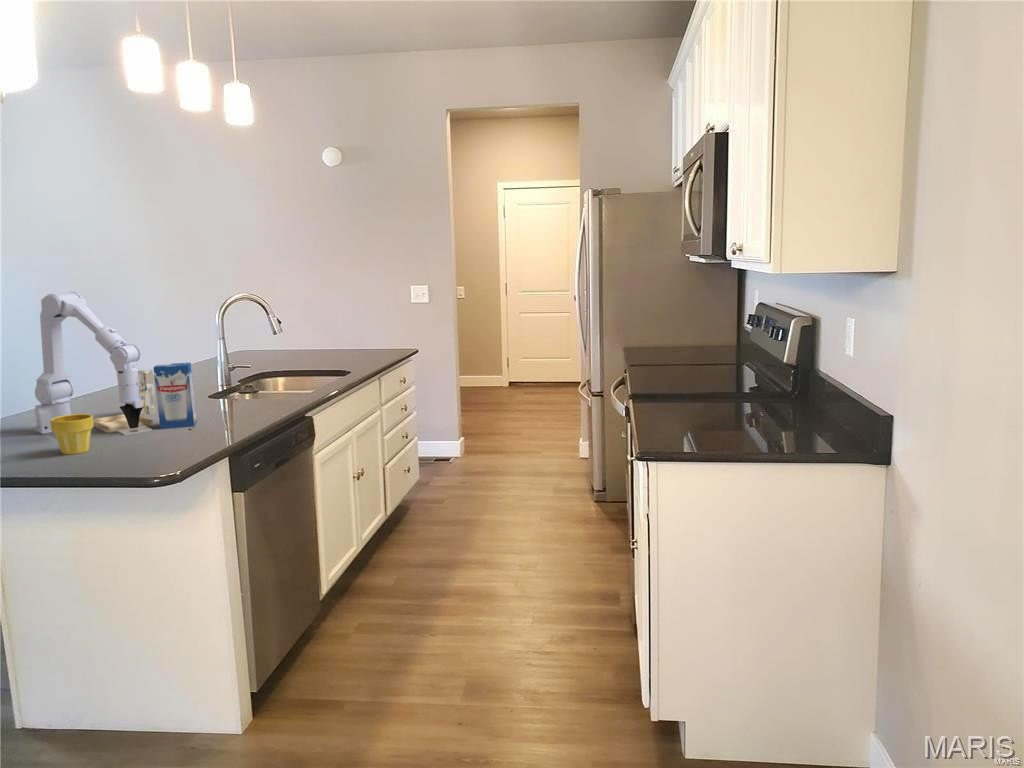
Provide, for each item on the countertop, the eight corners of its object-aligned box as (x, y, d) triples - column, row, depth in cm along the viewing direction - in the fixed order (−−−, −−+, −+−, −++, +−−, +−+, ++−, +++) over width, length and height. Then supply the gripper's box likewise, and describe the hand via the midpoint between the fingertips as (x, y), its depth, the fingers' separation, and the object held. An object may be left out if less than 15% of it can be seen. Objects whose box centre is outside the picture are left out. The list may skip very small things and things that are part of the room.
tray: (107, 434, 230) (106, 427, 230) (90, 426, 242) (89, 419, 241) (153, 426, 239) (152, 419, 239) (135, 419, 251) (134, 412, 251)
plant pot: (104, 445, 216) (99, 412, 215) (85, 455, 206) (80, 421, 205) (67, 447, 216) (62, 413, 214) (46, 457, 206) (41, 422, 204)
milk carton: (160, 431, 233) (153, 367, 229) (163, 426, 239) (156, 364, 235) (194, 428, 236) (188, 365, 232) (197, 423, 242) (190, 362, 238)
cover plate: (124, 438, 227) (124, 433, 226) (117, 434, 232) (116, 430, 231) (152, 433, 232) (151, 429, 232) (144, 430, 237) (144, 425, 237)
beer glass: (134, 417, 253) (129, 373, 251) (136, 413, 260) (131, 370, 257) (157, 415, 256) (152, 371, 253) (158, 411, 262) (153, 369, 260)
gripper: (150, 385, 227) (155, 429, 229) (134, 380, 237) (139, 422, 240) (125, 388, 222) (131, 433, 225) (110, 383, 232) (115, 426, 235)
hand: (133, 427), depth 232 cm, fingers closed
